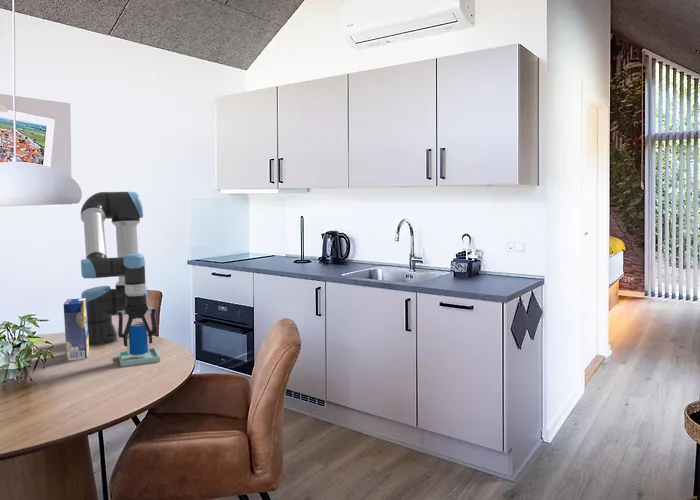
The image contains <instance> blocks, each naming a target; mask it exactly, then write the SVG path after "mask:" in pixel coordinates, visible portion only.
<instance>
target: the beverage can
mask: <svg viewBox="0 0 700 500" xmlns="http://www.w3.org/2000/svg"><path fill="white" fill-rule="evenodd" d="M147 335H148V332H147V330H146V326H145V325H144V323H143V321H141V322H140V321H136V322H132V323H131V325H130V328H129V333H128V337H129V343H130V354H131V355H132V356H141V355H145V354H146V353H147Z"/></svg>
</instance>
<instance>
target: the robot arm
mask: <svg viewBox="0 0 700 500" xmlns="http://www.w3.org/2000/svg"><path fill="white" fill-rule="evenodd" d="M143 211H144V209H143V204H142V201H141V196H140V195H139V193H138V192H135V191H100V192H97V193H94V194H92V195H91V196H89V197H88V198H87V199H86V201H85V202H84V203H83V205H82V207H81V209H80V220H81V221H82V222H83V228H84V230H83V231H84V245H85V246H84V247H85V258H84V259H83V258H82V259H81V260H80V269H81V278H83V279H102V278H114V277H118V281H117V282H116V283H115V287H114V288H111V287H110V285H100V286H95V287H91V288H87V289H85V290H84V291H81V296H80V297H81V298H86V302H87V319H88V336H89V346H97V345H104V344H109V343H112V342H115V341H117V340H118V338H122V339H123V346H124V347H126V351H127V354H128V355H130V343H129V328H130V325H131V323H133V320H135V319H141V321H142V322H143V323H144V325H145V326H146V331H147V352H148V353H150V348H151V347H150V344H153V335H155V334H157V333H158V330H157V323H156V317H155V316H156V315H155V313H156V309H155V307H148V304H147V302H148V287H147V286H146V283H147V282H146V267H145V266H146V261H145V255H144V254H143V253H139V249H138V247H139V246H138V229H137V227H138V225H139V224H140V222H141V220H140V219H142V218H143V217H144V212H143ZM107 219H109V220H110V219H111V223H112V225H113V226H114V227H115V235H116V236H115V237H116V252H117V253H116V254H117V257H107V246H106V245H107V243H106V233H105V220H107ZM81 298H80V299H81ZM147 312H148V313H149V314H150V315H149V316H150V320H151V328H152V330H151V329H150V325H149V323H148V321H147V318H146V317H145V315H146V313H147ZM125 315H127V316H128V319H127V321H126V322H127V323H126V326H125V329H124V332H123V324H124V323H123V320H124V316H125ZM113 316H118V328H117V331H118V332H117V331H116V328H115V326H114V323H113V319H112V317H113Z"/></svg>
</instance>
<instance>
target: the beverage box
mask: <svg viewBox="0 0 700 500" xmlns="http://www.w3.org/2000/svg"><path fill="white" fill-rule="evenodd" d="M63 316H64V317H63V320H64V333H65V335H64V337H65V348H66V352H65V353H66V361H76V360H86V359H87V358H88V356H89V353H90V345H89V336H88V319H87V302H86V298H70V299H69V298H68V299H66V300H65V302H64V304H63Z"/></svg>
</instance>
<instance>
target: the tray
mask: <svg viewBox="0 0 700 500" xmlns="http://www.w3.org/2000/svg"><path fill="white" fill-rule="evenodd" d="M117 358H118V362H119V366H120V367H121V368H123V367H132V366H137V365H147V364H154V363H160V362H161V356H160V354H159V352H158V349H157V347H150V353H148V352H147V353H146V354H145V355H141V356H132V355H131V354H130V355H128V354H127V350H124V351H123V350H122V351H117Z"/></svg>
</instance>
